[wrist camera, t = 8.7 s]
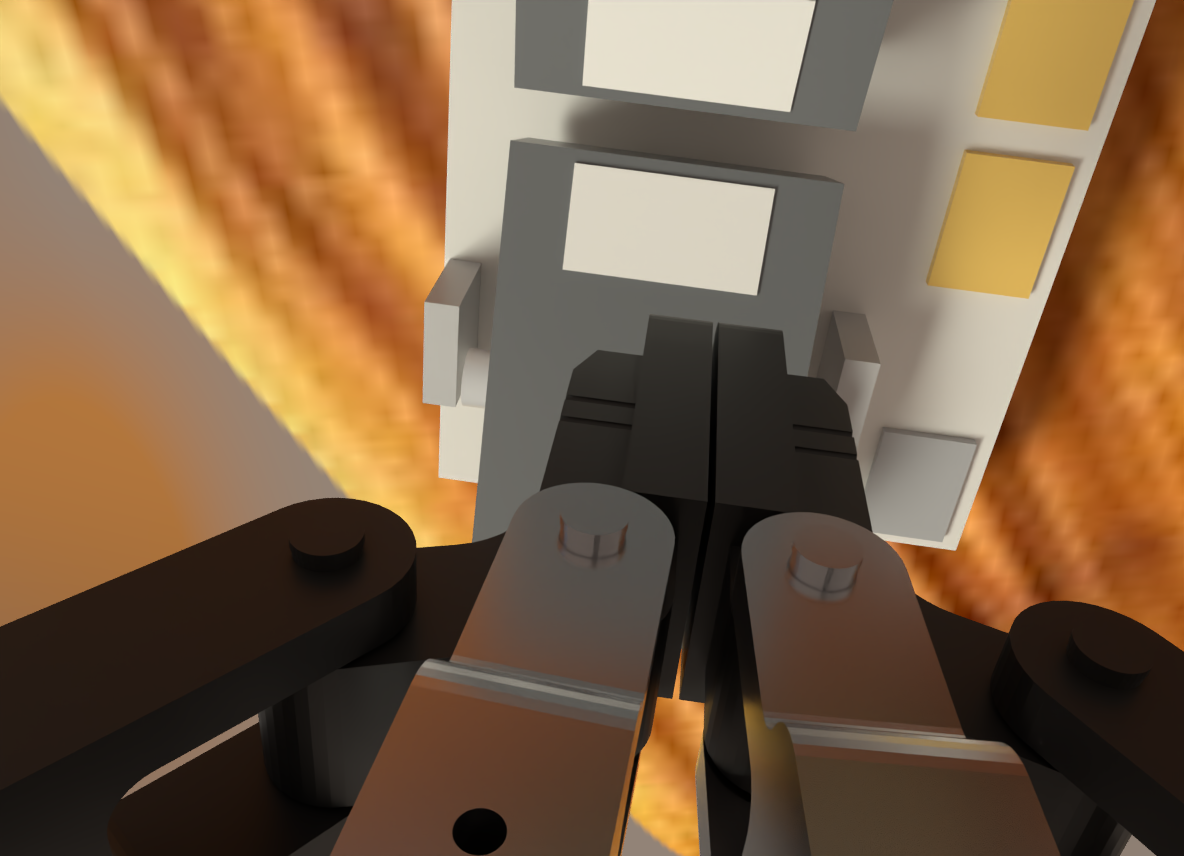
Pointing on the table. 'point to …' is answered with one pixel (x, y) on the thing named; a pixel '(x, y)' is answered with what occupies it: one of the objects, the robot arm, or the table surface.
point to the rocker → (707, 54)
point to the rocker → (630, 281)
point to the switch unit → (846, 221)
